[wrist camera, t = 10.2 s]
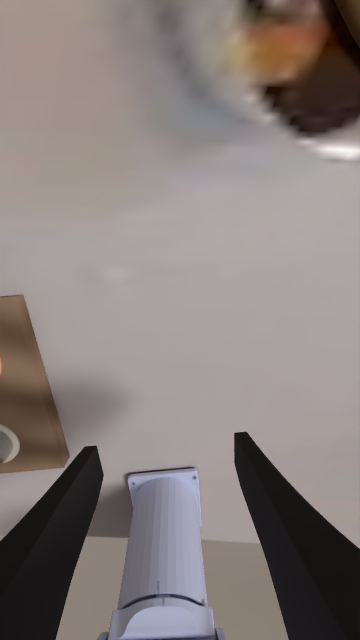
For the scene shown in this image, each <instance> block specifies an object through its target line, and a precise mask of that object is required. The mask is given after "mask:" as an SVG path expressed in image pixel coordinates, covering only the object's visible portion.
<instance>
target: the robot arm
mask: <svg viewBox="0 0 360 640" xmlns="http://www.w3.org/2000/svg"><path fill="white" fill-rule="evenodd" d="M234 452H235V467H236V471H237V475H238V479H239V482H240V486H241V489H242V492H243V495H244V498H245V501H246V503H247V506H248V509H249V512H250V515H251V517H252V520H253V523H254V526H255V529H256V531H257V534H258V537H259V540H260V543H261V545H262V548H263V551H264V554H265V558H266V560H267V564H268V567H269V571H270V574H271V578H272V581H273V585H274V588H275V592H276V595H277V599H278V602H279V606H280V609H281V613H282V616H283V620H284V624H285V627H286V631H287V635H288V638H289V640H360V549H359V548H358V547H357V546H356V545H354V544H353V543H352V542H351V541H350V540H348V539H347V538H346V537H345V536H344V535H343V534H341V533H340V532H339V531H338V530H337V529H336V528H335V527H334V526H333V525H331V524H330V523H329V522H328V521H327V520H326V519H325V518H324V517H323V516H322V515H321V514H320V513H319V512H318V511H316V510H315V509H314V508H313V507H312V506H311V505H310V504H309V503H308V502H307V501H306V500H305V499H304V498H303V497H302V496H301V495H300V494H299V493H298V492H297V491H296V490H295V488H294V487H293V486H292V485H291V484H290V483H289V482H288V481H287V480H286V479H285V478H284V477H283V476H282V474H281V473H280V472H279V471H278V470H277V469H276V468H275V466H274V465H273V464H272V463H271V462H270V461H269V459H268V458H267V457H266V456H265V455H264V453H263V452H262V451H261V450H260V448H259V447H258V446H257V445H256V443H255V442H254V441H253V440H252V438H251V437H250V436H249V434H248V433H247V432H239V433H234ZM103 476H104V475H103V470H102V466H101V462H100V458H99V454H98V449H97V446H87V447H84V448H83V449H82V451H81V452H80V453H79V454H78V455H77V457H76V458H75V459H74V460H73V461H72V463H71V464H70V465H69V466H68V467H67V469H66V470H65V471H64V472H63V473H62V475H61V476H60V477H59V478H58V479H57V480H56V482H55V483H54V484H53V485H52V486H51V487H50V489H49V490H48V491H47V492H46V493H45V494H44V495H43V497H42V498H41V499H40V500H39V501H38V502H37V503H36V504H35V505H34V506H33V508H32V509H31V510H30V511H29V512H28V513H27V514H26V515H25V516H24V517H23V519H22V520H21V521H20V522H19V523H18V524H17V525H16V526H15V527H14V528H13V529H12V530H11V531H10V532H9V533H8V534H7V535H6V536H5V537H4V538H3V539H2V540H1V541H0V640H55V639H56V636H57V632H58V628H59V624H60V620H61V616H62V613H63V609H64V605H65V602H66V598H67V594H68V591H69V587H70V583H71V580H72V576H73V573H74V570H75V567H76V564H77V561H78V558H79V555H80V552H81V549H82V546H83V543H84V540H85V537H86V534H87V532H88V529H89V526H90V523H91V520H92V517H93V514H94V511H95V508H96V505H97V502H98V498H99V494H100V490H101V485H102V481H103ZM128 485H129V490H130V495H131V500H132V506H133V514H132V521H131V527H130V533H129V539H128V545H127V552H126V558H125V564H124V570H123V576H122V583H121V589H120V595H119V601H118V608H117V610H114V611H113V612H112V617H111V622H110V628H109V632H103V633H101V634H100V635H99V637H98V639H97V640H228V638H227V637H226V635H225V632H224V631H223V629H222V628H220V627H214V620H213V611H212V607H208V606H207V596H206V587H205V576H204V567H203V557H202V547H201V538H200V527H201V526H202V524H201V509H200V494H199V480H198V470H197V469H195V468H191V469H180V470H169V471H159V472H148V473H138V474H130V475H129V476H128Z"/></svg>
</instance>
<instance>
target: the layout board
mask: <svg viewBox="0 0 360 640" xmlns="http://www.w3.org/2000/svg"><path fill="white" fill-rule="evenodd" d="M69 457H70V456H69V453H68V449H67V446H66V442H65V439H64V435H63V432H62V428H61V425H60V421H59V418H58V414H57V411H56V407H55V404H54V401H53V397H52V394H51V390H50V387H49V383H48V380H47V376H46V373H45V369H44V366H43V362H42V359H41V355H40V352H39V348H38V345H37V341H36V338H35V334H34V331H33V328H32V324H31V321H30V317H29V314H28V310H27V307H26V303H25V300H24V296H23V295H14V296H1V297H0V474H1V473H12V472H22V471H33V470H44V469H54V468H64V467H65V465H66V463H67V461H68V459H69Z"/></svg>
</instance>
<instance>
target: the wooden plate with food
mask: <svg viewBox="0 0 360 640" xmlns="http://www.w3.org/2000/svg"><path fill="white" fill-rule="evenodd" d="M334 2H335V4H336V6H337V8H338V10H339V12H340V14H341V16H342V18H343V20H344V21H345V23H346V25H347V27H348V29H349V31H350V33H351V35H352V36H353V38H354V40H355V41H356V43H357V45H358V46H359V48H360V0H334Z"/></svg>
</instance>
